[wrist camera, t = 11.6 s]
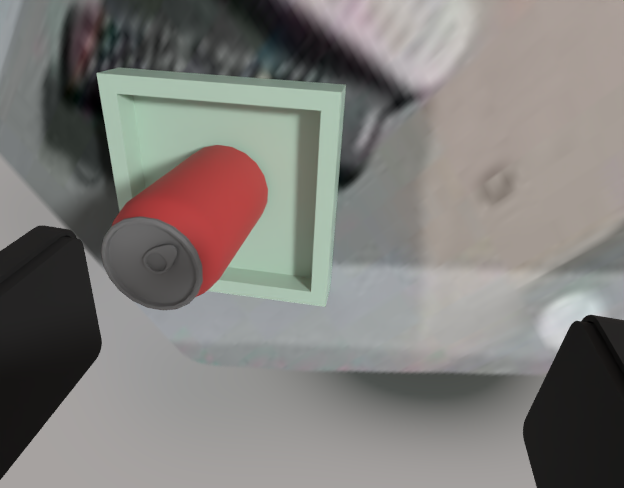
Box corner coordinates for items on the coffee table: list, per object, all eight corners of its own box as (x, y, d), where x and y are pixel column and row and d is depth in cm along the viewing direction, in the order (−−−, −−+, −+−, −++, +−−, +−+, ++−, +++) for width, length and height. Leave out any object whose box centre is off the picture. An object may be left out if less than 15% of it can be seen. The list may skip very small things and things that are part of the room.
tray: (118, 67, 32) (96, 73, 30) (345, 84, 30) (341, 92, 28) (147, 263, 40) (131, 280, 38) (330, 287, 38) (325, 306, 36)
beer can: (288, 195, 34) (236, 282, 23) (227, 240, 37) (156, 337, 26) (227, 123, 32) (142, 183, 22) (168, 176, 35) (67, 252, 24)
